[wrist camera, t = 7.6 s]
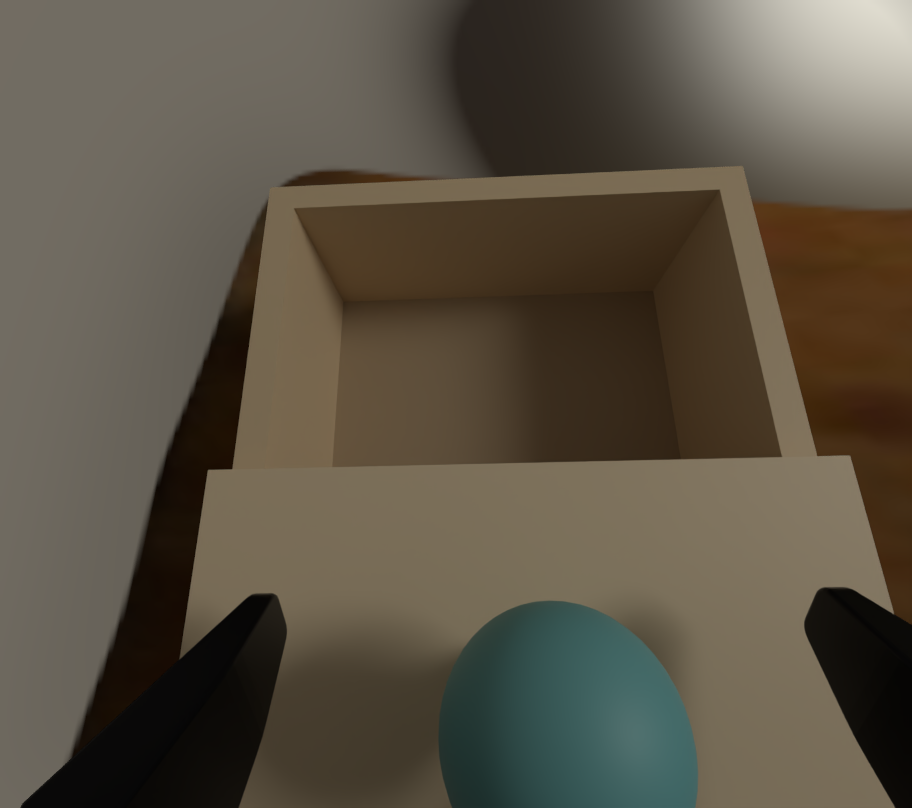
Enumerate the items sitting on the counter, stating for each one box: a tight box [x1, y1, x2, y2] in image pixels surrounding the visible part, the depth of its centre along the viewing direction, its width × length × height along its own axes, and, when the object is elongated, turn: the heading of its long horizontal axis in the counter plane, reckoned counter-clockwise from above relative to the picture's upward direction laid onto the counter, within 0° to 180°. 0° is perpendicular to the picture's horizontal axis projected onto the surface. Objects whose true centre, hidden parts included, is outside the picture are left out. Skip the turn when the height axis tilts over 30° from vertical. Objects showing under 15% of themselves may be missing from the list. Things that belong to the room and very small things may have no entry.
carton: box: [232, 166, 817, 469], centre depth 15 cm, size 12×14×6 cm
